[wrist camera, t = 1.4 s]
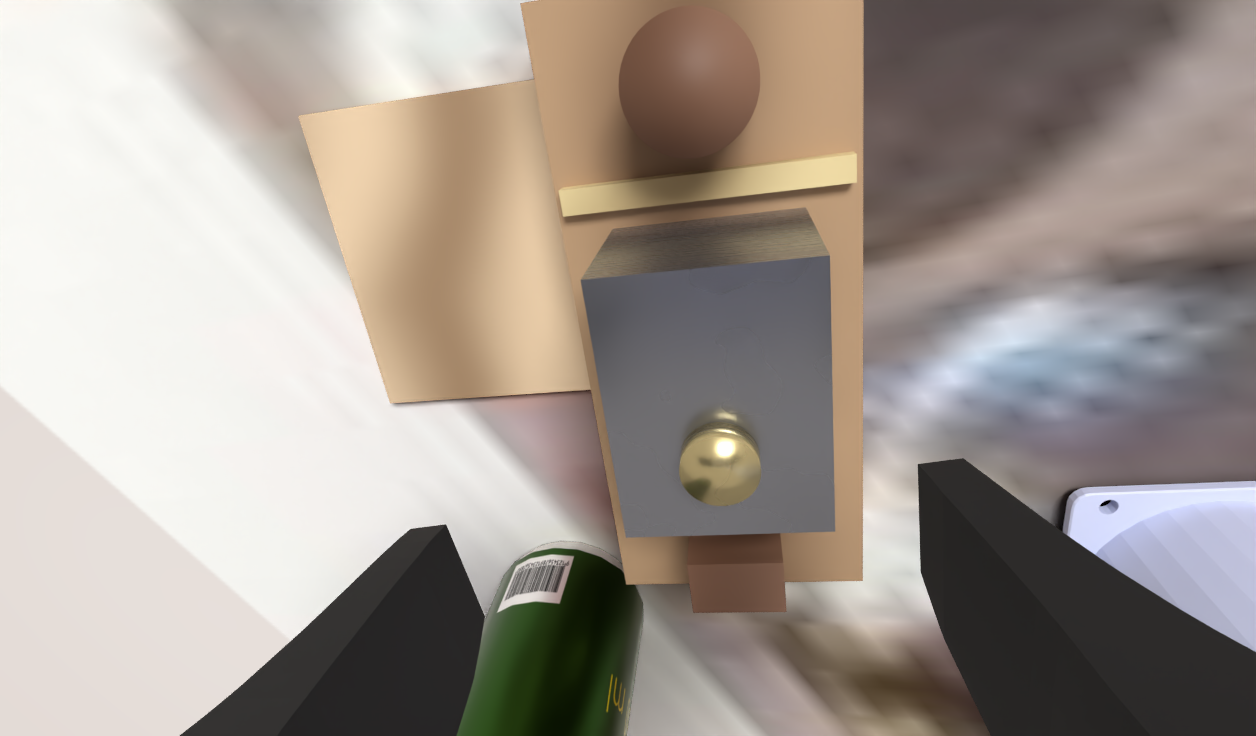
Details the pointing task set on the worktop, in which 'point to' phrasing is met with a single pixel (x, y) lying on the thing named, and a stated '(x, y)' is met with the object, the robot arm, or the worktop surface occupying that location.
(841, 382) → the body
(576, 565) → the beer can
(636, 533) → the grey block with knob
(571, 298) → the cork trivet
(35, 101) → the worktop surface
